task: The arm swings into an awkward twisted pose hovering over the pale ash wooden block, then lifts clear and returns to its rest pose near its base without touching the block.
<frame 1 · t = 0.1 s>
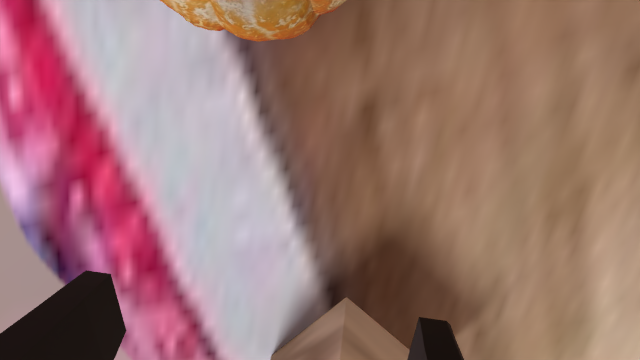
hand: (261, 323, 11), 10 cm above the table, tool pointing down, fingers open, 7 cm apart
ash block: (347, 358, 25), on the table
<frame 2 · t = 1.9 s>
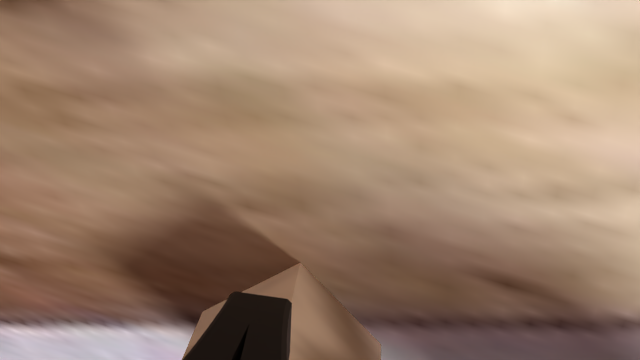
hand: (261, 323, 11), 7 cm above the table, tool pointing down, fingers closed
ash block: (291, 325, 21), on the table
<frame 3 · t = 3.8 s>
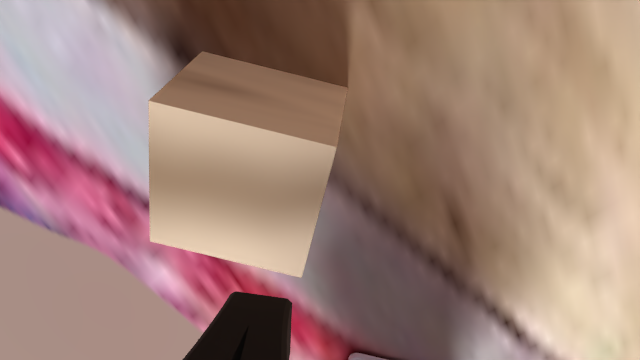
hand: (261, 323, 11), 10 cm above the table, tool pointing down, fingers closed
ash block: (265, 132, 20), on the table
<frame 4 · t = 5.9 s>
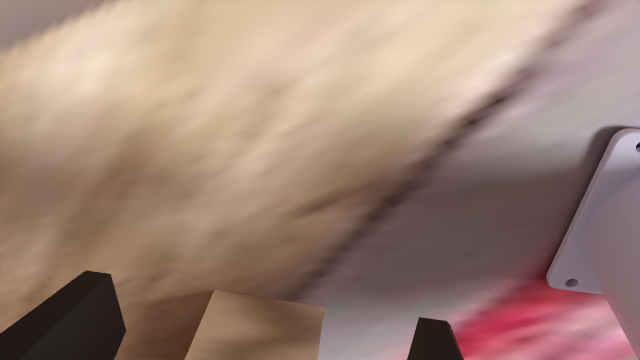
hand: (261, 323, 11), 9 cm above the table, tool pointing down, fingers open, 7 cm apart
ash block: (268, 332, 26), on the table
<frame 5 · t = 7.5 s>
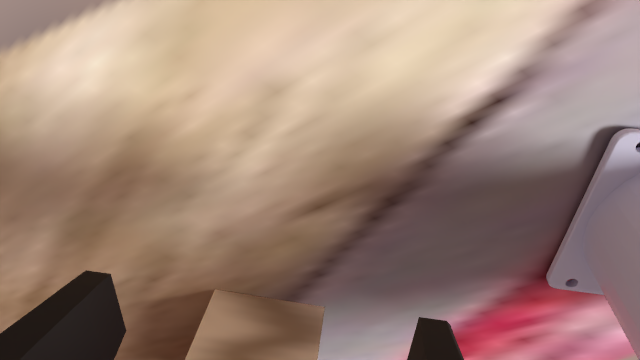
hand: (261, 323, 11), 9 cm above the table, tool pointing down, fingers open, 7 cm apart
ash block: (268, 332, 26), on the table
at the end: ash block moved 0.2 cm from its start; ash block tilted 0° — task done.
